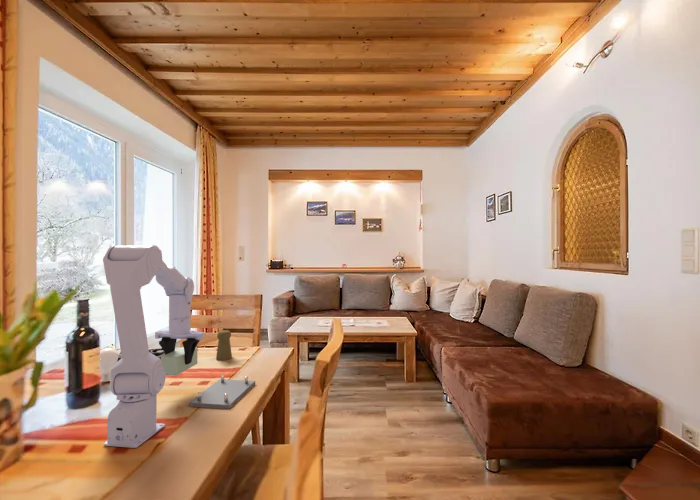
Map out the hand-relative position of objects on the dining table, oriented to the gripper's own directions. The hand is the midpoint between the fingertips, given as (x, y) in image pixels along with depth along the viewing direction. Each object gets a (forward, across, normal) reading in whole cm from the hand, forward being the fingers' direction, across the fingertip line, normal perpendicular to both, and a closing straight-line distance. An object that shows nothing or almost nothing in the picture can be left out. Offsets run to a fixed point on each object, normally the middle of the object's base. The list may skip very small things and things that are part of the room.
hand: (179, 363), depth 99 cm
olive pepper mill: (+10, +4, -34) cm, 35 cm away
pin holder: (+9, -13, -2) cm, 16 cm away
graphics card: (+10, +36, -31) cm, 48 cm away
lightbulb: (+10, +30, -6) cm, 32 cm away
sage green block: (+2, 0, 0) cm, 2 cm away
